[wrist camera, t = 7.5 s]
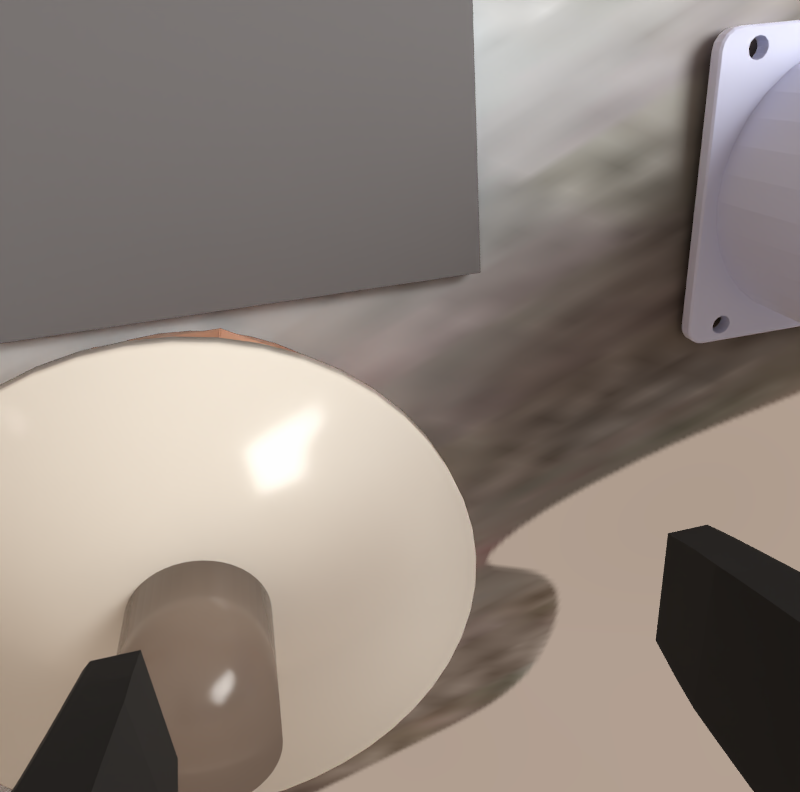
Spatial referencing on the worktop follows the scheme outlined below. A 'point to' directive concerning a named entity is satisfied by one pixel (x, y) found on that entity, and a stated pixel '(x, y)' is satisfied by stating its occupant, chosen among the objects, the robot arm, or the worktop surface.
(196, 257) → the mat
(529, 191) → the worktop surface
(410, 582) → the lid
